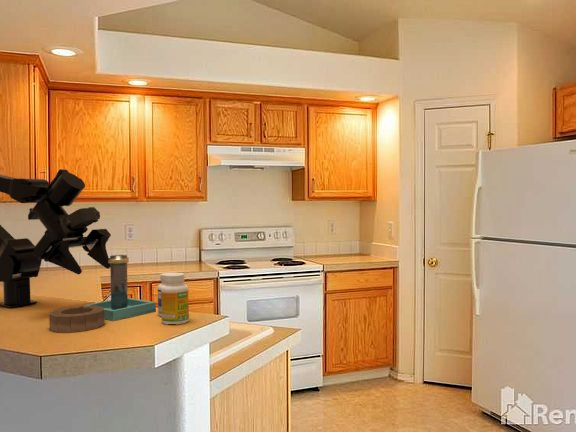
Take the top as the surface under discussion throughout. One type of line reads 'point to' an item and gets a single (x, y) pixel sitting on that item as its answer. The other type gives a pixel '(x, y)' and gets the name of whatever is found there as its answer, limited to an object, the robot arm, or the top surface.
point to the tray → (126, 309)
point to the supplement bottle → (174, 299)
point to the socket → (76, 318)
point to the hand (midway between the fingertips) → (95, 270)
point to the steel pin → (118, 281)
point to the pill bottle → (160, 292)
